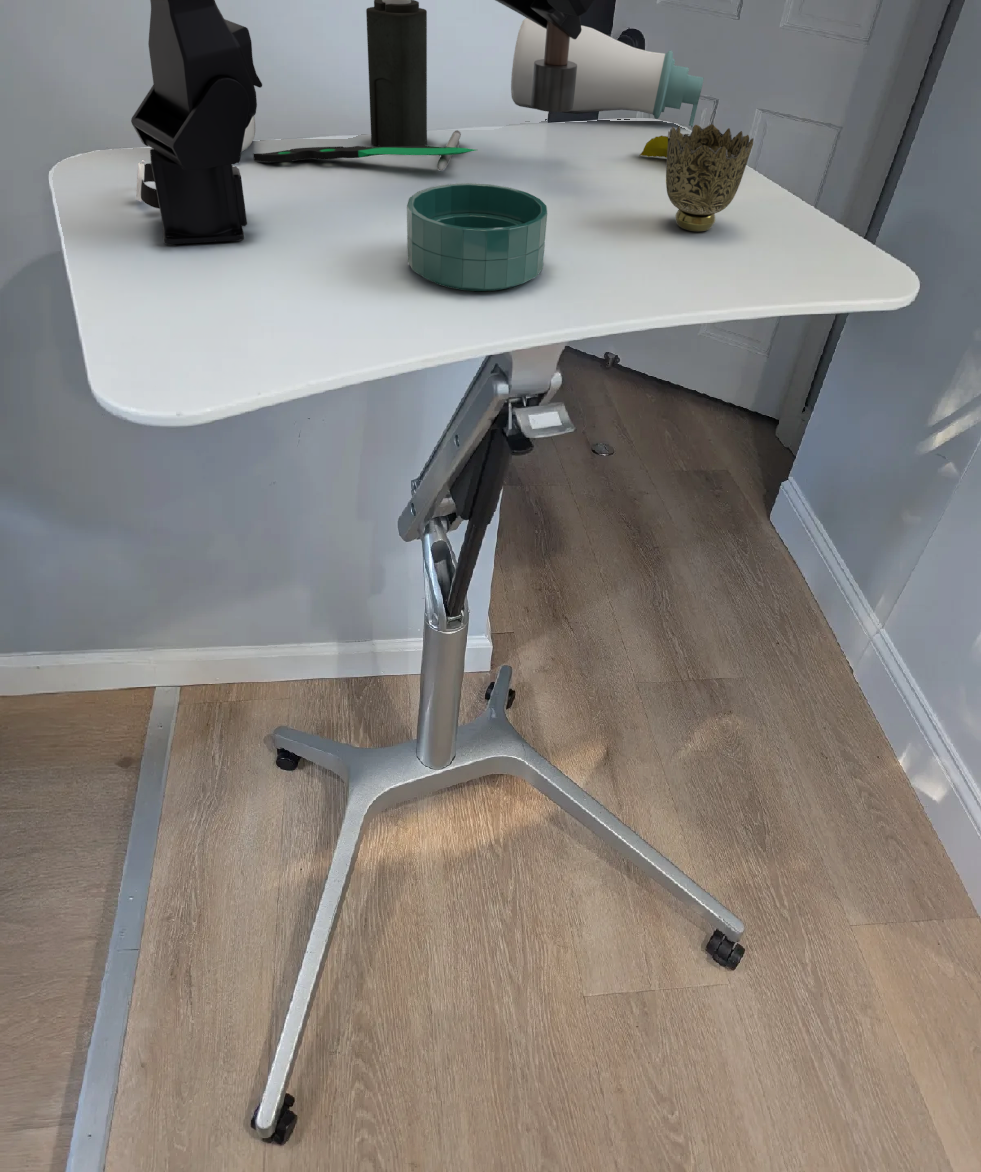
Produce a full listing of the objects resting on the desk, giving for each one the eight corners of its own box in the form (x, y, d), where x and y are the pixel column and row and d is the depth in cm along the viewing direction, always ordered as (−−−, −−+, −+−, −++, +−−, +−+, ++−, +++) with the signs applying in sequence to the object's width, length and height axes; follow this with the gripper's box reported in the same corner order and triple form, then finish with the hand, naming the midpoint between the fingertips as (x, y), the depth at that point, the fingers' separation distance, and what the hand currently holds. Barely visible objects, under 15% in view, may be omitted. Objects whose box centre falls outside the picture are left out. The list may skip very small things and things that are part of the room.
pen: (462, 141, 101) (462, 128, 100) (444, 179, 91) (444, 164, 90) (453, 141, 101) (453, 127, 100) (434, 178, 91) (434, 163, 90)
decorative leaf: (719, 174, 96) (711, 149, 94) (707, 188, 96) (699, 164, 94) (654, 152, 102) (645, 128, 99) (642, 165, 102) (633, 142, 99)
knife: (248, 154, 92) (267, 146, 96) (250, 163, 92) (269, 154, 96) (470, 153, 87) (481, 144, 91) (471, 161, 88) (481, 152, 92)
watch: (137, 189, 84) (128, 148, 82) (189, 187, 86) (182, 146, 83) (136, 217, 79) (127, 174, 77) (192, 215, 80) (185, 172, 78)
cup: (707, 210, 88) (724, 121, 82) (749, 237, 82) (771, 143, 77) (639, 216, 85) (653, 125, 80) (679, 244, 80) (696, 148, 75)
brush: (538, 112, 91) (549, -30, 83) (525, 102, 94) (534, -36, 86) (579, 112, 92) (593, -29, 84) (564, 101, 95) (577, -35, 88)
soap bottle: (505, 104, 109) (691, 136, 108) (518, 10, 104) (713, 42, 103) (516, 105, 118) (688, 134, 116) (528, 17, 113) (708, 47, 111)
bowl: (426, 300, 69) (426, 234, 65) (395, 247, 76) (394, 186, 73) (560, 289, 71) (567, 225, 68) (517, 240, 79) (521, 180, 76)
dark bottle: (431, 143, 101) (431, -143, 85) (404, 153, 97) (399, -143, 81) (394, 134, 103) (388, -147, 86) (366, 144, 99) (354, -147, 83)
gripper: (621, -187, 71) (687, -25, 84) (475, -195, 81) (554, -50, 94) (537, -63, 72) (615, 78, 85) (405, -87, 83) (492, 42, 95)
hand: (568, 32), depth 90 cm, fingers closed on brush, 2 cm apart
